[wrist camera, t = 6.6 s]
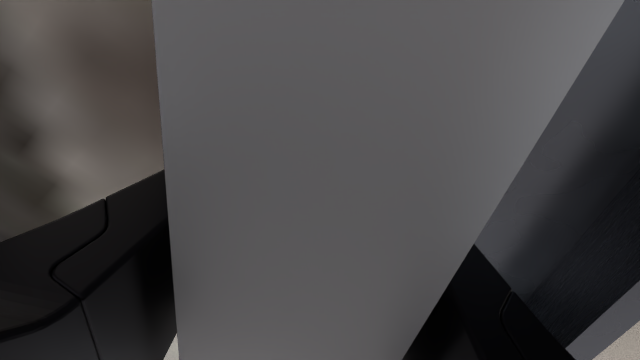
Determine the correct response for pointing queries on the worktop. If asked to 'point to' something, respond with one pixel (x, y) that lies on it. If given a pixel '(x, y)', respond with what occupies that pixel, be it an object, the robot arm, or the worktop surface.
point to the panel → (345, 158)
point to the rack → (580, 204)
